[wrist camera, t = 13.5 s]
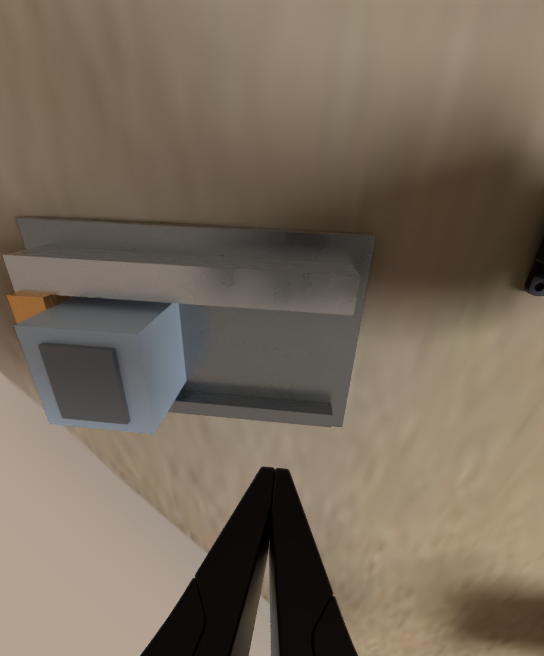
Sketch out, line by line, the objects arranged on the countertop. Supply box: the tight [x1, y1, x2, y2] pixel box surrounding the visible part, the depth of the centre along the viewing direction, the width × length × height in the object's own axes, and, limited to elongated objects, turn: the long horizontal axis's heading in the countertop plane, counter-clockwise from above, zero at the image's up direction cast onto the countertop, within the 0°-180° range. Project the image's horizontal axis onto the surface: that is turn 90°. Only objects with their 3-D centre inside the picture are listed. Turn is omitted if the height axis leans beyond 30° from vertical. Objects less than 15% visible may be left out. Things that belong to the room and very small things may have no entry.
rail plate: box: [2, 217, 376, 427], centre depth 18 cm, size 20×13×4 cm, turn 88°
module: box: [14, 296, 186, 434], centre depth 17 cm, size 6×6×5 cm
